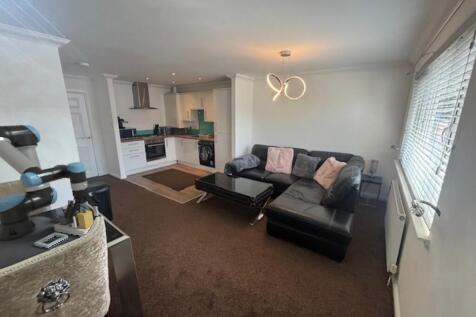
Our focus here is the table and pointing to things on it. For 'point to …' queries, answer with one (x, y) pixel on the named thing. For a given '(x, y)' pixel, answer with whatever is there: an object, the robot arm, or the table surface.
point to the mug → (73, 205)
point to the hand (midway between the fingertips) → (86, 221)
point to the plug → (85, 219)
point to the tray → (40, 242)
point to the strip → (69, 226)
